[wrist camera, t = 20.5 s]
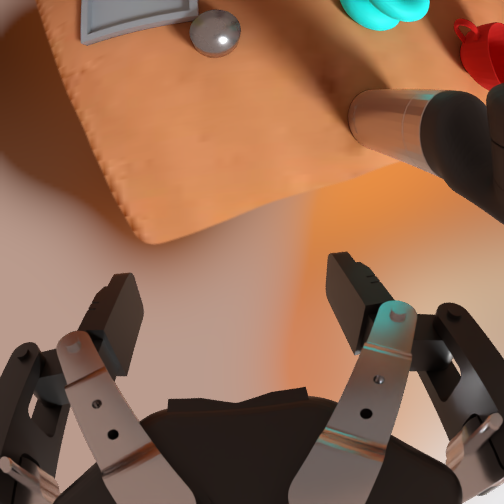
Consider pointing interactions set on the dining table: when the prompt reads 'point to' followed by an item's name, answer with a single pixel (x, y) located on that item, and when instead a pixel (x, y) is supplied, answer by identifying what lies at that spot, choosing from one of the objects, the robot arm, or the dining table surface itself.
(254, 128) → the dining table surface
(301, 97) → the dining table surface
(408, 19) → the donuts
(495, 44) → the ceramic cup
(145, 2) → the grey tray
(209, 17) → the short metal canister
